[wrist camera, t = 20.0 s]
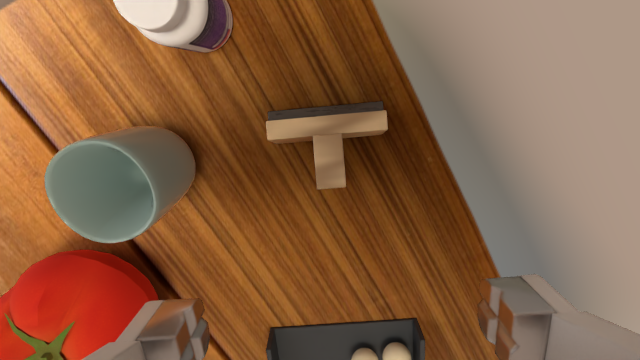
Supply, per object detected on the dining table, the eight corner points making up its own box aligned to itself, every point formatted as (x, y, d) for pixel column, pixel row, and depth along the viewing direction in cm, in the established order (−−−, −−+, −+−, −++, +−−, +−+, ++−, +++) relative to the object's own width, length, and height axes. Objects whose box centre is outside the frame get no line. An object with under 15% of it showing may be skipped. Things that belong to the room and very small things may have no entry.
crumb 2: (387, 332, 38) (372, 357, 37) (408, 348, 35) (392, 375, 35) (400, 342, 40) (386, 366, 39) (421, 358, 37) (406, 384, 36)
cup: (220, 177, 33) (178, 219, 23) (155, 207, 34) (89, 259, 24) (178, 105, 31) (113, 119, 21) (110, 140, 32) (19, 168, 22)
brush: (386, 98, 26) (393, 183, 26) (377, 110, 31) (383, 181, 31) (263, 110, 27) (270, 193, 27) (274, 119, 32) (280, 189, 32)
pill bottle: (222, -24, 27) (170, -74, 18) (241, 44, 29) (203, 29, 20) (161, -7, 28) (80, -48, 18) (184, 59, 29) (120, 52, 20)
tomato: (191, 258, 36) (144, 325, 26) (154, 365, 40) (102, 454, 31) (59, 210, 34) (-43, 262, 25) (36, 327, 39) (-57, 408, 29)
